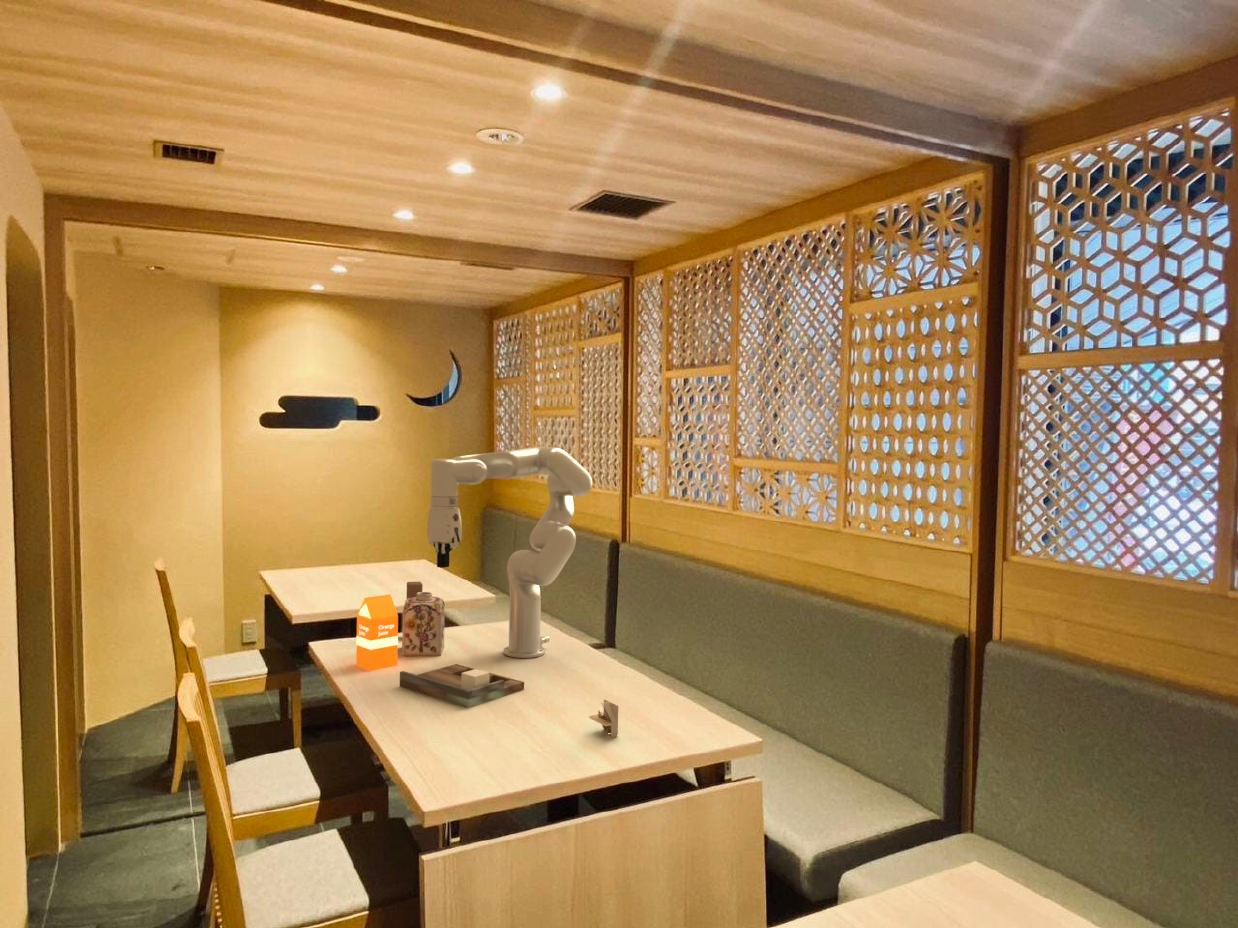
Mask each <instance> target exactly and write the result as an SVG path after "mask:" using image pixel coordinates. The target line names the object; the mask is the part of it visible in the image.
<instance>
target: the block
mask: <svg viewBox="0 0 1238 928" xmlns="http://www.w3.org/2000/svg"><path fill="white" fill-rule="evenodd" d="M473 669H474V670H471V671H467V672H463V673H462V676H461V688H464V689H468V690H470V689H474V688H477V687H480V686H483V685H487V684H489V680H490V673H491V672H489V671H485V670H481V669H478V668H473Z"/></svg>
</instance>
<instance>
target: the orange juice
mask: <svg viewBox="0 0 1238 928" xmlns="http://www.w3.org/2000/svg"><path fill="white" fill-rule="evenodd" d="M398 629H399V615H398V612H397V610H396V606H395V603H394V600H393V597H392V594H383V595H377V596H376V595H375V596H369V597H364V599H363V600H362V603H361V605H360V608H359V610H358V612H357V614H356V643H355V644H356V655H355V656H356V659H355V661H356V665H357V666H356V667H360V668H362V669H364V670H367V671H370V672H372V671H377V670H382V669H385V668H392V667H395V666H398V650H399V649H398V645H399V636H398V634H399V631H398Z"/></svg>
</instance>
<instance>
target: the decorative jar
mask: <svg viewBox="0 0 1238 928" xmlns="http://www.w3.org/2000/svg"><path fill="white" fill-rule="evenodd" d="M401 634H402V637H401V639H402V640H401V648H402V649H401V654H402V656H403V657H441V656H442V653H443V650H444V648H445V602H444V599H443V598H440V597H437V596H433V593H432V592H430V591H422V592H418V593H417V596H416V597H413V598H409V599H407V598H406V600H405V601H404V606H403V610H402V633H401Z"/></svg>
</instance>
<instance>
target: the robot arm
mask: <svg viewBox="0 0 1238 928" xmlns="http://www.w3.org/2000/svg"><path fill="white" fill-rule="evenodd" d="M430 465H431V466H430V468H431V469H430V472H431V473H430V506H429V511H428V516H427V525H426V526H427V527H426V529H427V530H426V537H427V540H429V541H428V544H429V545H430V546H433V547H434V549H435V553H436V568H441V569H443V568H449V567H450V554H451V553H452V550H453V549H456V548H458V547H459V543H461V542H462V540H463V525H462V523H463V522H462V515H461V510H460V507H458V505H459V503H460V501H459V497H458V496H459V484H465V485H472V486H473V485H478V484H480V483H482V482H483V481H484V480H486V479H494V480H495V479H496V480H514V479H519V478H525V477H532V476H539V475H548V476H547V482H546V483H547V489H548V493H549V503H548V505H547V507H546V510H545V512H544V513H543V514H542V516H541V517H540V519H539V520H538V522H537V523H536V525H535V526H534V527H533V529H532V531H531V533H530V535H529V544H530V545H531V547H532V548H533V549H534V550H535V551H533V550H529V549H519V550H517V551H514V552H513V553H512V554H511V555H510V556H509V558H508V561H507V564H506V565H507V566H506V567H507V568H506V569H507V578H508V585H509V606H508V607H509V611H508V614H509V615H508V646H505V647H504V648H503V649H502V651H503V654H504V655H505V656H507V657H511V658H517V659H526V658H527V659H531V658H538V657H540V656H541V657H542V656H543V655H545V653H546V649H545V648H544V647H543V644H546V643H550V636H548V635H546V636H541V612H542V611H541V609H542V605H541V604H542V595H541V594H542V592H541V588H540V587H544V586H545V587H546V586H549V585H550V584H552V583H553V582H554V581H555V580H556V578H557V577H558V576H559V574H560V573H561V571H562V570H563V568H564V566H565V565H566V563H567V562H568V560H569V559H570V557H571V556H572V554H573V552H574V550H575V547H576V545H577V544H576V543H577V536H576V533H575V531H574V530H573V528H572V527H570V526H569V525H570V523H571V521H572V520H573V517H574V516H575V504H574V499H573V498H574V497H575V498H582V497H585V496H586V495H588V494H590V492H591V490H592V487H593V480H592V476H591V475H590V473H589V472H588V470H587V469H586V468H584V467H583V466H582V465H581V464H580V463H579V462H578V461H577V460H575V458H573V457H572V456H571V454H569V453H568V452H566V450H564V449H562V448H560V447H556V446H534V447H525V448H520V449H518V448H517V449H512V450H511V449H510V450H501V451H493V452H488V453H487V452H486V453H478V454H477V453H476V454H469V455H468V454H467V455H461V456H454V457H452V458H434V459H432V461H431V464H430ZM537 551H538V552H537Z"/></svg>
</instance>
